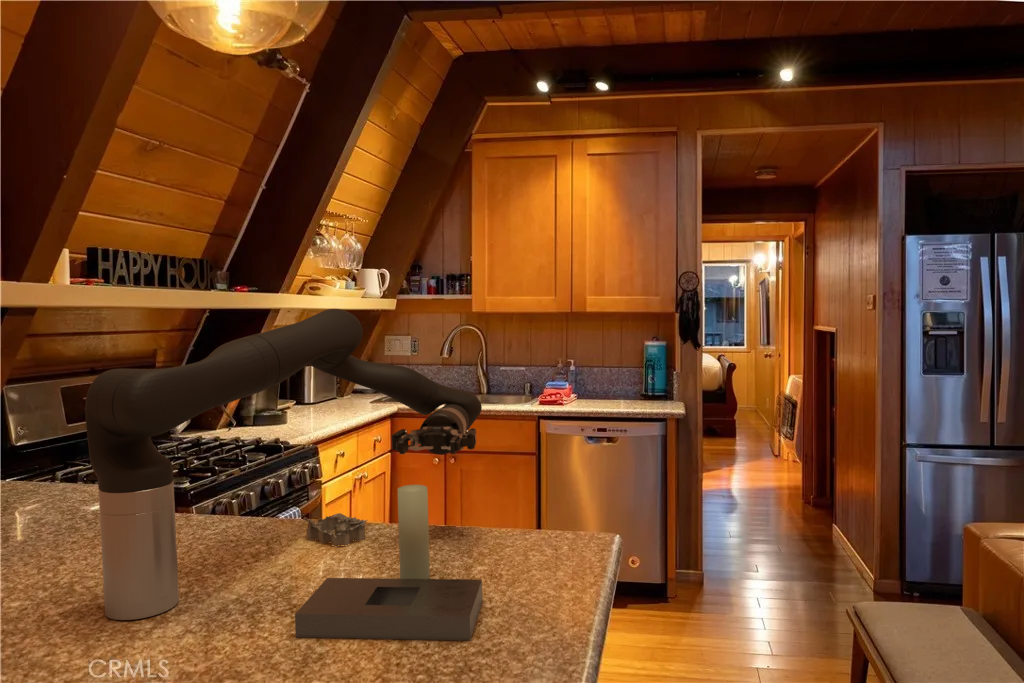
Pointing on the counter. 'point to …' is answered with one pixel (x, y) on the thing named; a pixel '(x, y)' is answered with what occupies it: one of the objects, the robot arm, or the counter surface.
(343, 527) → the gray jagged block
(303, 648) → the counter surface
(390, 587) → the brown block with hole
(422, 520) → the peg
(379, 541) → the counter surface
